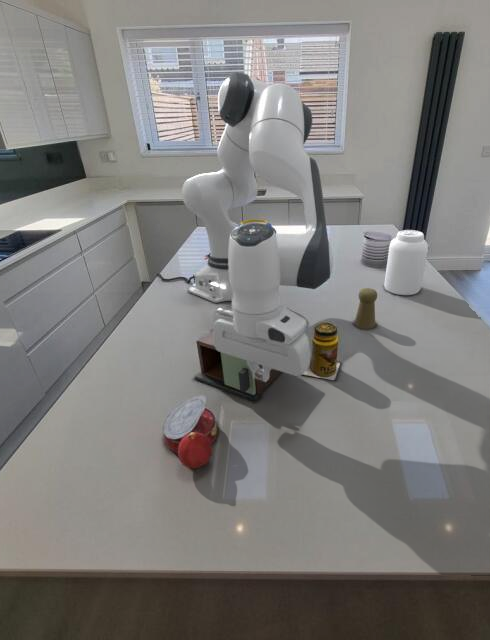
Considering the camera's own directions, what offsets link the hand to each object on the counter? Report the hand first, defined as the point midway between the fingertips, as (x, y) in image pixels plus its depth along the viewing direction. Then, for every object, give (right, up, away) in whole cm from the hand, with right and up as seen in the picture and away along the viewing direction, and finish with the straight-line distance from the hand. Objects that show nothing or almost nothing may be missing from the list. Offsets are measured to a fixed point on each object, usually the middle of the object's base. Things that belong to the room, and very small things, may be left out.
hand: (261, 378), depth 75 cm
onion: (-11, -15, -8) cm, 20 cm away
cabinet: (-6, 0, +16) cm, 17 cm away
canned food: (-14, -11, -2) cm, 18 cm away
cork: (+28, +12, +36) cm, 47 cm away
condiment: (+13, +1, +16) cm, 21 cm away
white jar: (+46, +26, +57) cm, 78 cm away
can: (+42, +40, +81) cm, 100 cm away
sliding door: (-6, -4, +7) cm, 10 cm away
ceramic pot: (-8, +44, +88) cm, 99 cm away
